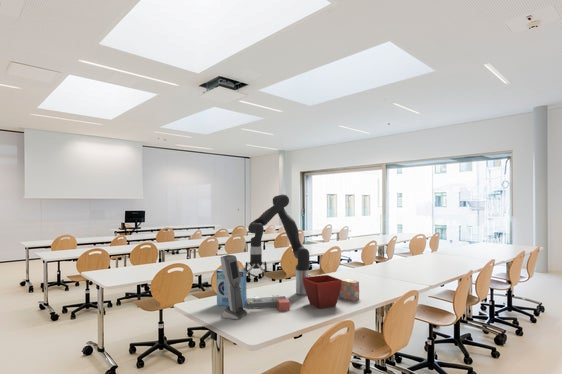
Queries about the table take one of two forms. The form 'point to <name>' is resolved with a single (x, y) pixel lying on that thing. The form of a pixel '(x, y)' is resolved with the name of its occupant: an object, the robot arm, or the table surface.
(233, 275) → the thermal camera
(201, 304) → the table surface
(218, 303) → the gum box
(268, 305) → the breaker panel
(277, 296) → the block
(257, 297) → the block
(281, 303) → the cap
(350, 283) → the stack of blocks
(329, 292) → the plant pot
